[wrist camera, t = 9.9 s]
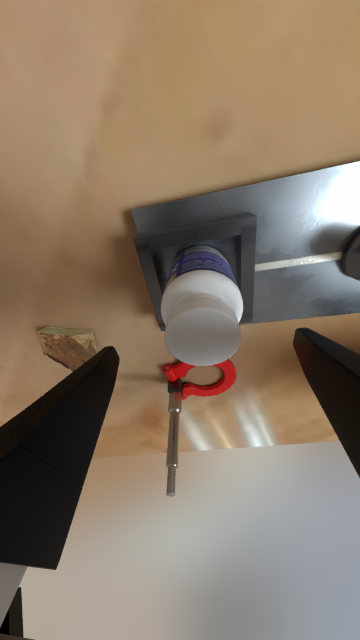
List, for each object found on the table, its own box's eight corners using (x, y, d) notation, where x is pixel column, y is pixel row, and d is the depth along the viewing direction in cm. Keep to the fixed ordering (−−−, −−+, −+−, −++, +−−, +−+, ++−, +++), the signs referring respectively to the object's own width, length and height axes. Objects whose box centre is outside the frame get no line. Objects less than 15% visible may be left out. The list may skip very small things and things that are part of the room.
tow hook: (227, 343, 23) (159, 359, 25) (262, 468, 13) (141, 480, 15) (239, 383, 28) (180, 395, 30) (272, 502, 17) (178, 507, 19)
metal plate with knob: (483, 134, 12) (778, 76, 6) (395, 301, 18) (490, 354, 12) (135, 209, 15) (97, 220, 9) (167, 325, 22) (156, 375, 16)
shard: (110, 381, 30) (106, 391, 28) (63, 377, 30) (56, 386, 28) (97, 327, 24) (91, 336, 22) (38, 322, 24) (27, 331, 22)
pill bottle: (168, 245, 16) (144, 295, 8) (232, 243, 15) (266, 294, 8) (172, 301, 19) (158, 372, 11) (226, 300, 18) (246, 375, 11)
